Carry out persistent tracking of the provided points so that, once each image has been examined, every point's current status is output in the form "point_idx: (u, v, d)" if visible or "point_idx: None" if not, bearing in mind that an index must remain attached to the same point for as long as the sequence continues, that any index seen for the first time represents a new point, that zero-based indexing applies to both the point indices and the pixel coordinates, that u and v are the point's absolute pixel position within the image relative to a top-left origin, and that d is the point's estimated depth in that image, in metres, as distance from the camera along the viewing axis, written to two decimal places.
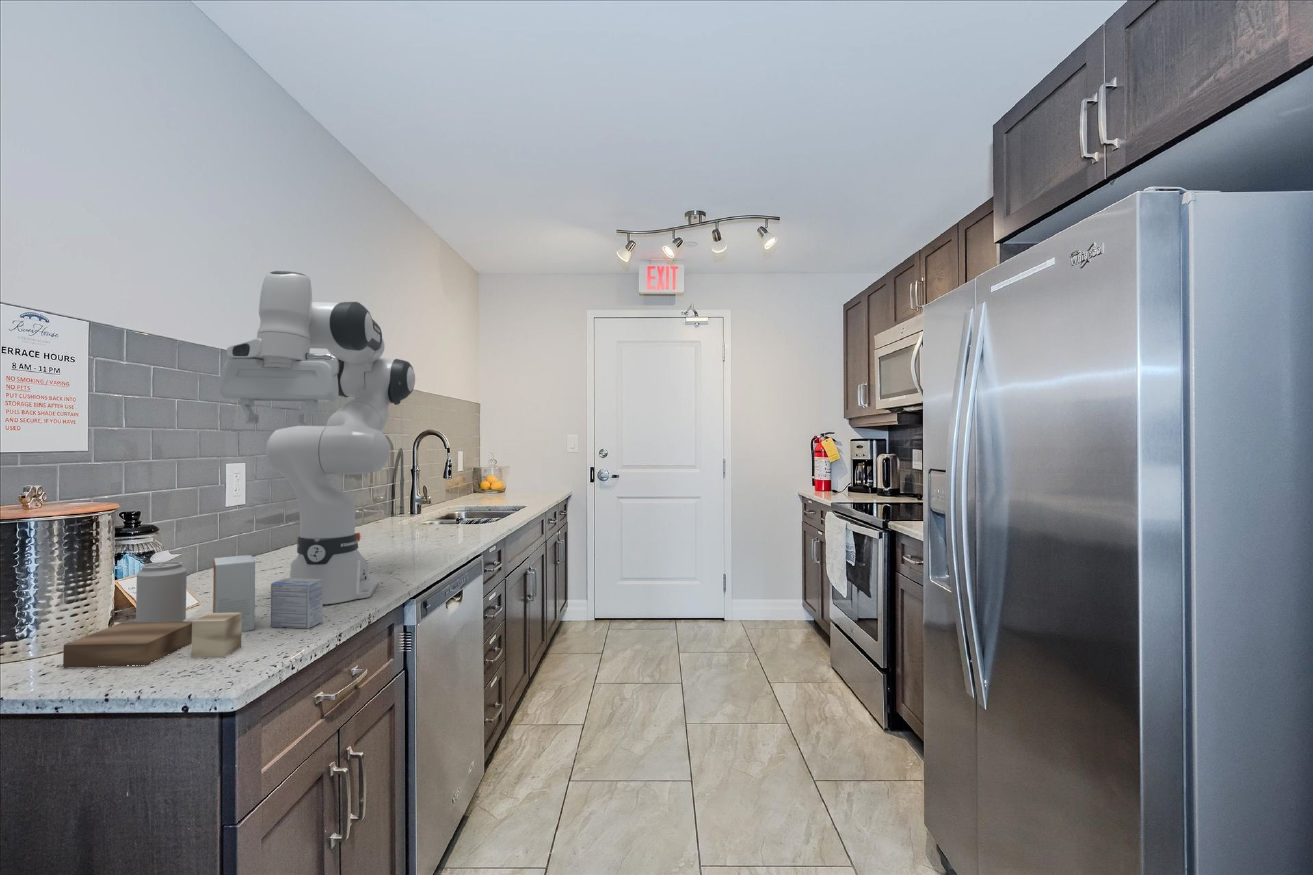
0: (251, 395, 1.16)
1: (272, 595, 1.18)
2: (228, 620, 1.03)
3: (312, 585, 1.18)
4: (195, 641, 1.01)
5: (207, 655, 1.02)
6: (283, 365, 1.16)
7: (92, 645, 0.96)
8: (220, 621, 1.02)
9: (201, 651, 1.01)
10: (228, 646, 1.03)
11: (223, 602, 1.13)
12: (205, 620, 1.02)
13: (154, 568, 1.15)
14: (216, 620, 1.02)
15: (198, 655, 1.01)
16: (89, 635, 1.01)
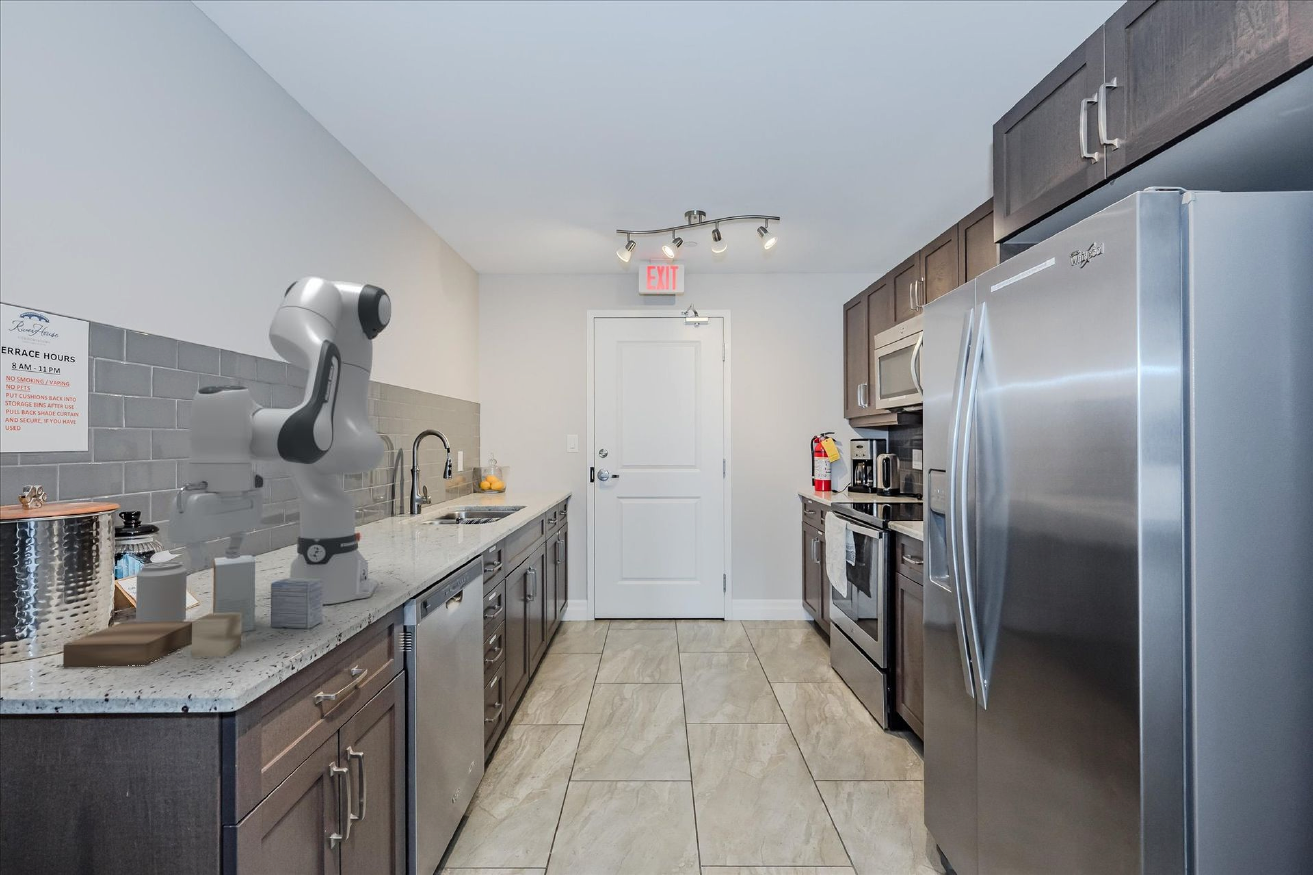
0: None
1: (272, 595, 1.18)
2: (228, 620, 1.03)
3: (312, 584, 1.18)
4: (195, 641, 1.01)
5: (207, 655, 1.02)
6: None
7: (92, 645, 0.96)
8: (220, 621, 1.02)
9: (201, 651, 1.01)
10: (228, 646, 1.03)
11: (223, 602, 1.13)
12: (205, 620, 1.02)
13: (154, 568, 1.15)
14: (216, 620, 1.02)
15: (198, 655, 1.01)
16: (89, 635, 1.01)
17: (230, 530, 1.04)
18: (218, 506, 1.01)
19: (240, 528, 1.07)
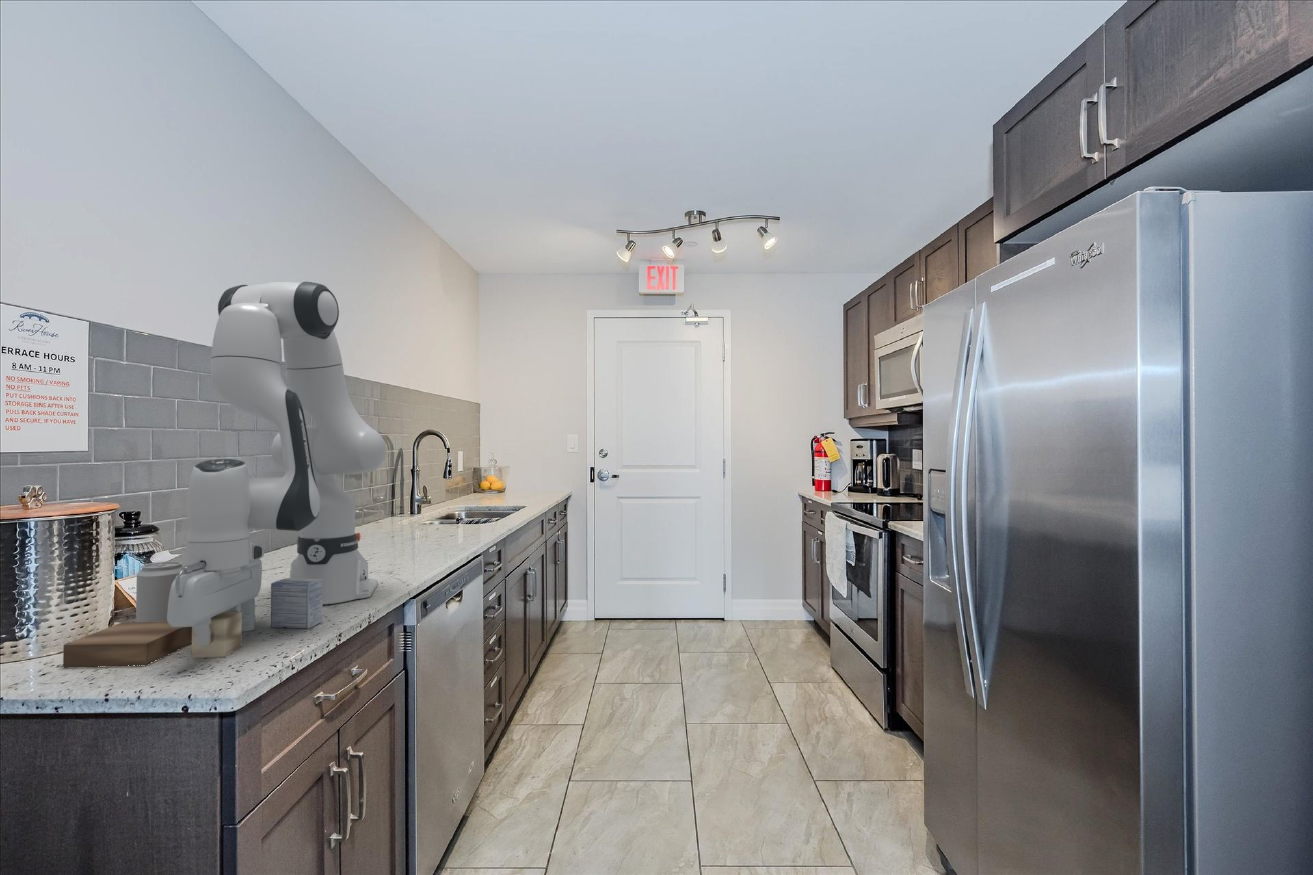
0: None
1: (272, 595, 1.18)
2: (228, 620, 1.03)
3: (312, 584, 1.18)
4: (195, 641, 1.01)
5: (207, 655, 1.02)
6: None
7: (92, 645, 0.97)
8: (220, 621, 1.02)
9: (201, 651, 1.01)
10: (228, 645, 1.03)
11: None
12: None
13: (154, 568, 1.15)
14: (216, 620, 1.02)
15: (198, 655, 1.01)
16: (89, 635, 1.01)
17: (229, 605, 1.05)
18: (217, 584, 1.01)
19: (240, 601, 1.08)
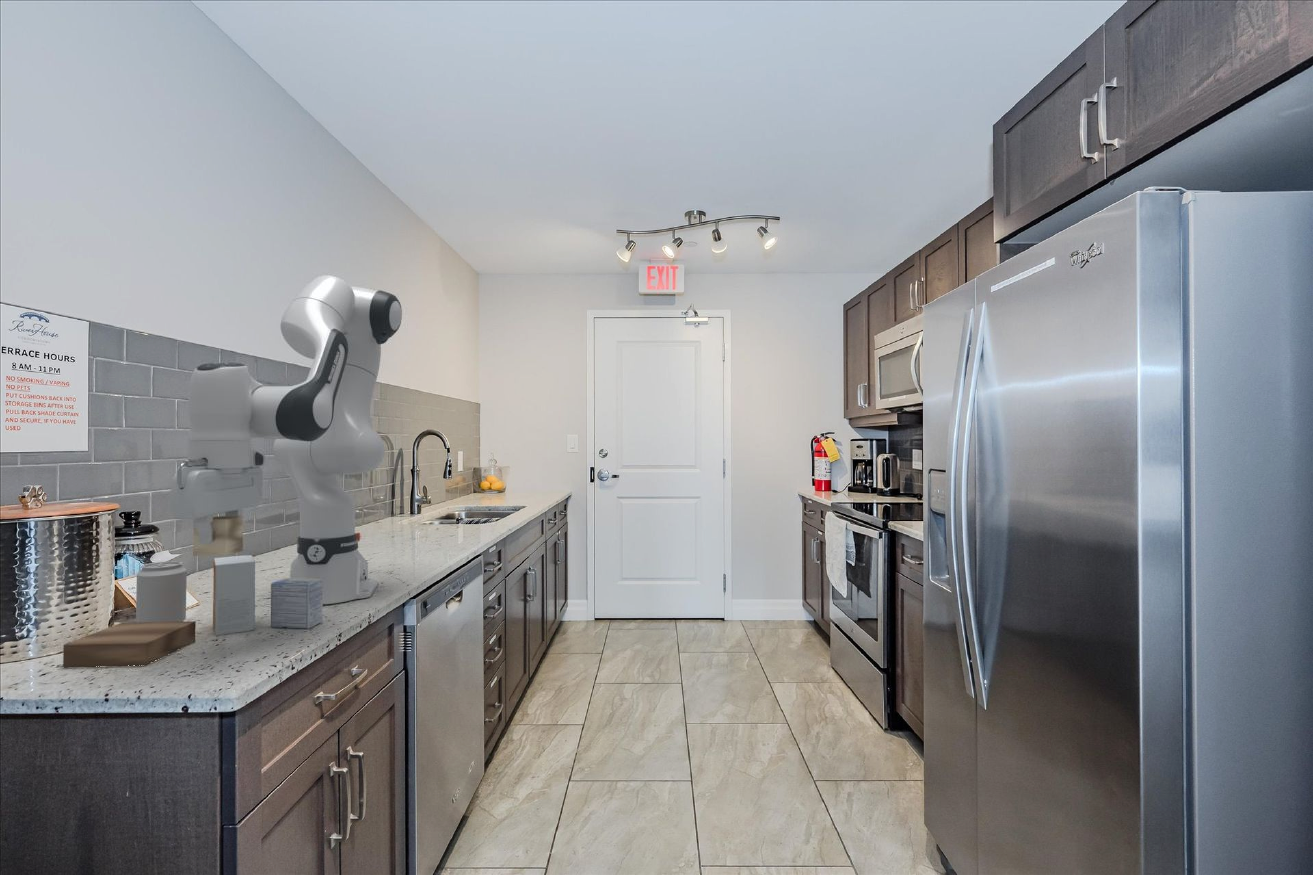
0: None
1: (272, 595, 1.18)
2: (229, 520, 1.03)
3: (312, 584, 1.18)
4: (197, 540, 1.02)
5: (209, 554, 1.02)
6: None
7: (92, 645, 0.97)
8: (222, 520, 1.02)
9: (203, 550, 1.02)
10: (230, 546, 1.03)
11: (223, 602, 1.13)
12: None
13: (154, 568, 1.15)
14: (218, 519, 1.02)
15: (200, 553, 1.02)
16: (89, 635, 1.01)
17: (231, 507, 1.05)
18: (218, 482, 1.01)
19: (241, 505, 1.08)
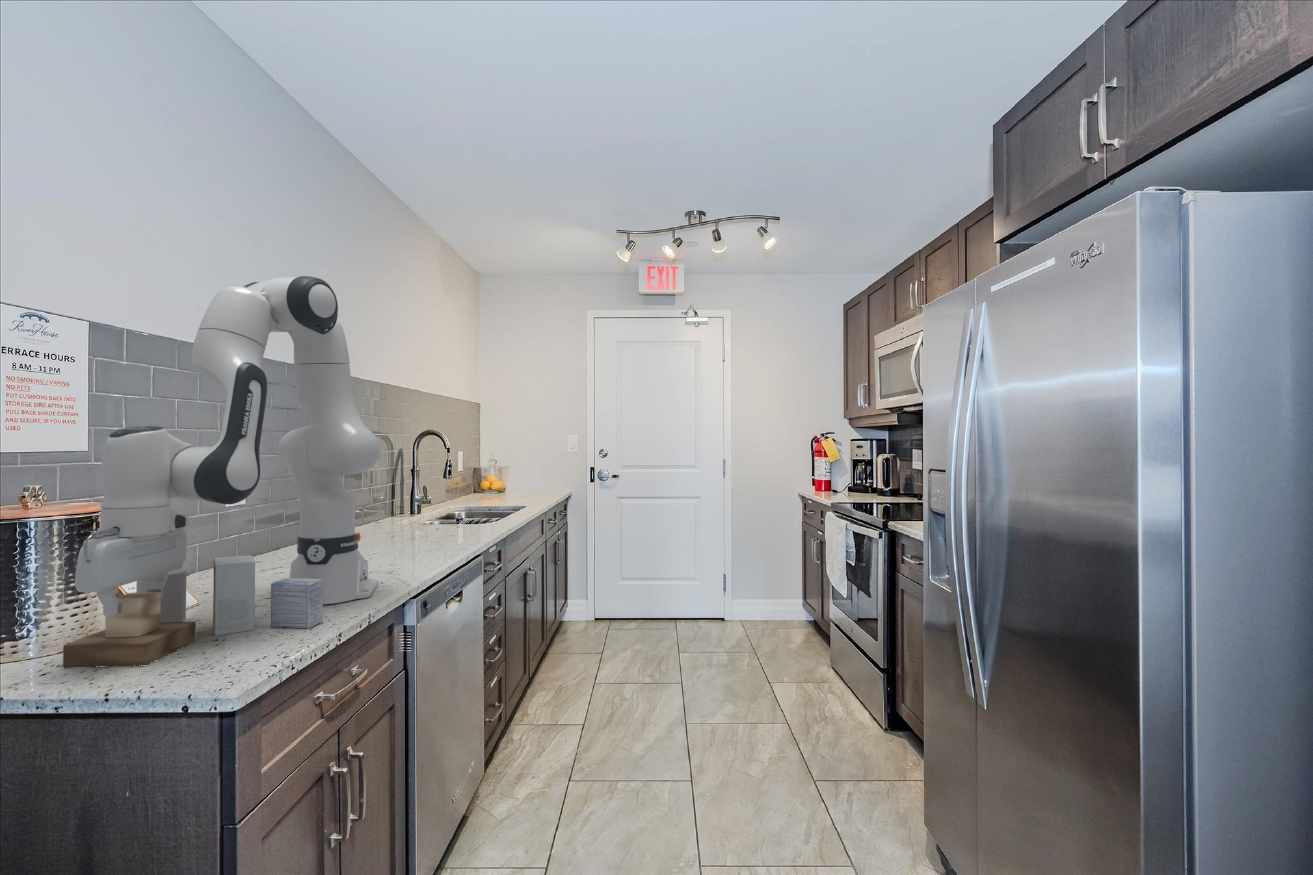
0: None
1: (272, 595, 1.18)
2: (143, 599, 1.02)
3: (312, 584, 1.18)
4: (109, 620, 1.00)
5: (121, 634, 1.00)
6: None
7: (92, 645, 0.97)
8: (134, 600, 1.01)
9: (115, 630, 1.00)
10: (144, 625, 1.02)
11: (223, 602, 1.13)
12: (119, 599, 1.01)
13: None
14: (131, 599, 1.01)
15: (112, 634, 1.00)
16: (89, 635, 1.01)
17: (147, 573, 1.03)
18: (132, 551, 1.00)
19: (160, 570, 1.06)
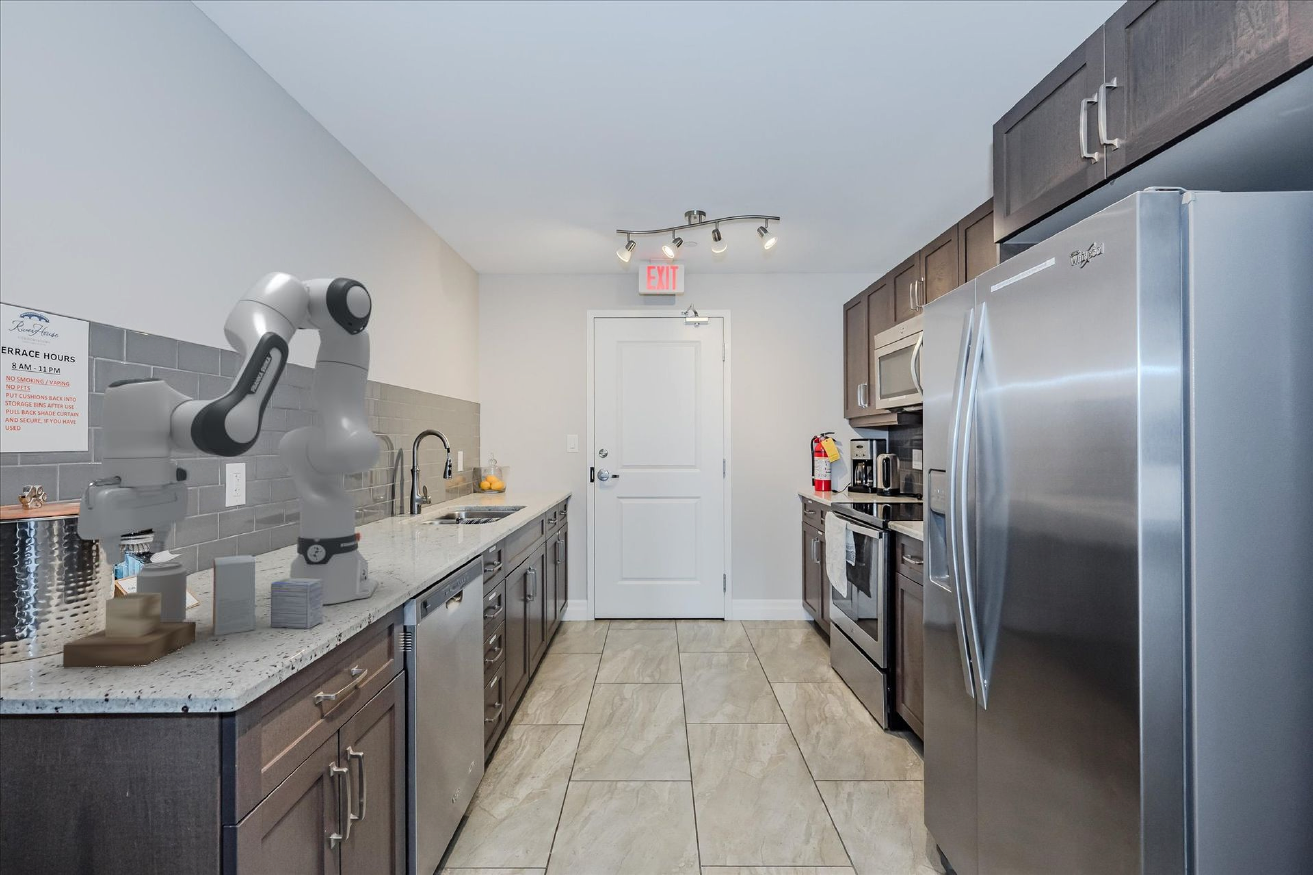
0: None
1: (272, 595, 1.18)
2: (143, 600, 1.01)
3: (312, 584, 1.18)
4: (109, 621, 1.00)
5: (121, 635, 1.00)
6: None
7: (92, 645, 0.97)
8: (134, 601, 1.00)
9: (115, 631, 1.00)
10: (143, 626, 1.02)
11: (223, 602, 1.13)
12: (119, 599, 1.01)
13: (154, 568, 1.15)
14: (130, 599, 1.01)
15: (112, 635, 1.00)
16: (89, 635, 1.01)
17: (150, 524, 1.04)
18: (134, 501, 1.00)
19: (163, 522, 1.07)
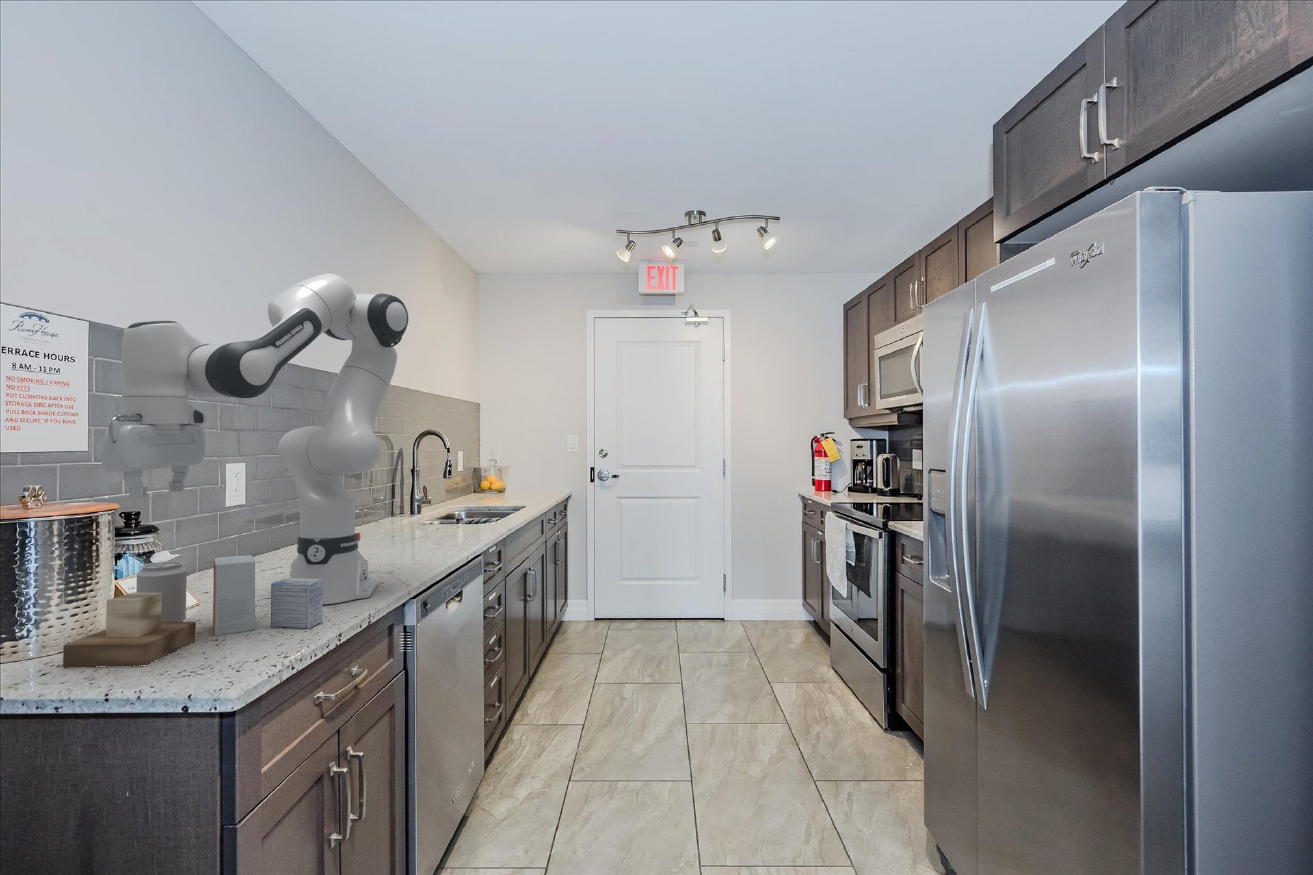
0: None
1: (272, 595, 1.18)
2: (143, 600, 1.02)
3: (312, 584, 1.18)
4: (110, 620, 1.00)
5: (121, 634, 1.00)
6: None
7: (92, 645, 0.97)
8: (134, 600, 1.01)
9: (115, 630, 1.00)
10: (143, 626, 1.02)
11: (223, 602, 1.13)
12: (120, 599, 1.01)
13: (154, 568, 1.15)
14: (131, 599, 1.01)
15: (112, 634, 1.00)
16: (89, 635, 1.01)
17: (169, 463, 1.07)
18: (154, 438, 1.04)
19: (181, 462, 1.10)
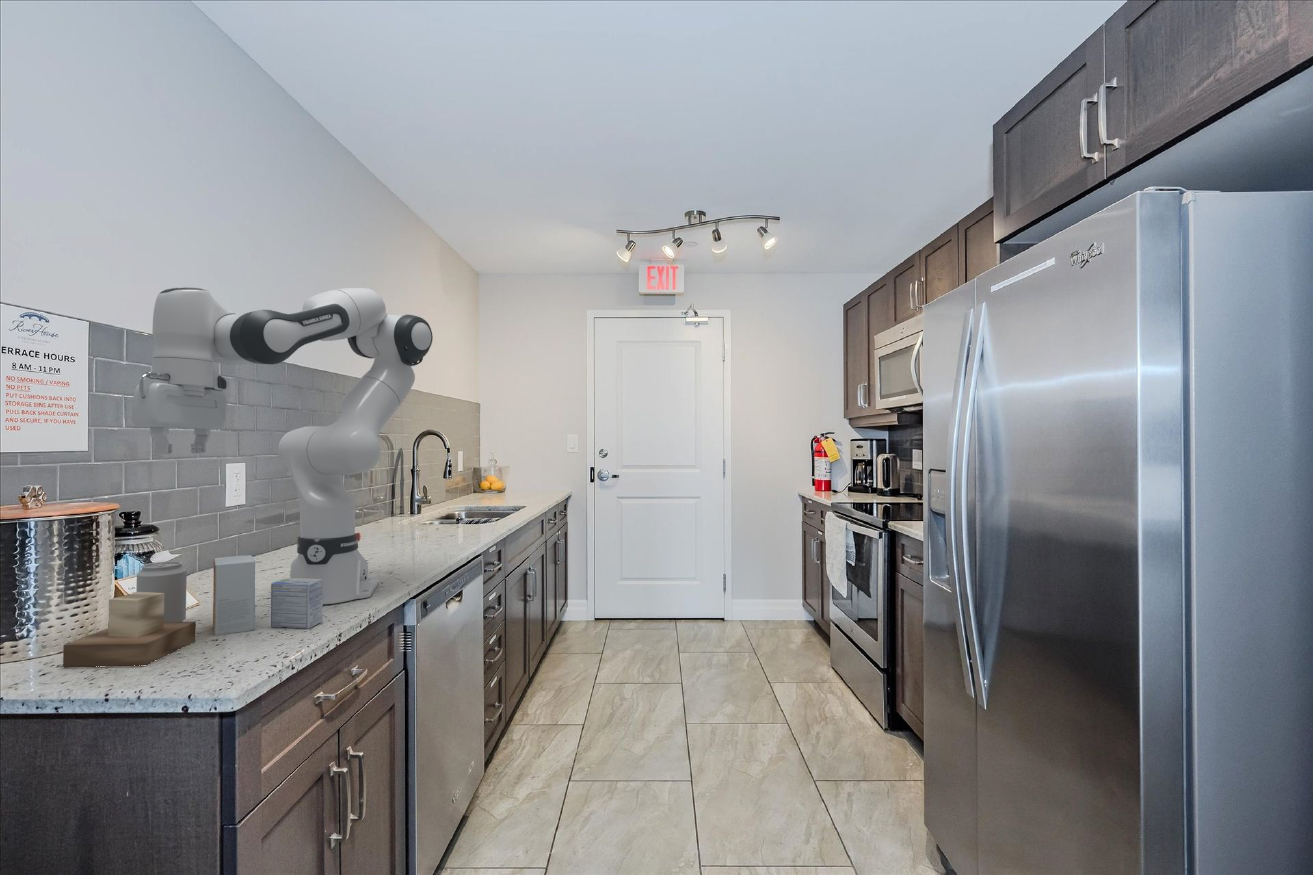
0: None
1: (272, 595, 1.18)
2: (143, 600, 1.01)
3: (312, 584, 1.18)
4: (111, 620, 1.01)
5: (121, 634, 1.00)
6: None
7: (92, 645, 0.97)
8: (133, 601, 1.00)
9: (116, 630, 1.01)
10: (143, 626, 1.01)
11: (223, 602, 1.13)
12: (121, 599, 1.01)
13: (154, 568, 1.15)
14: (130, 599, 1.01)
15: (114, 634, 1.01)
16: (89, 635, 1.01)
17: (193, 423, 1.12)
18: (180, 398, 1.08)
19: (204, 424, 1.15)
